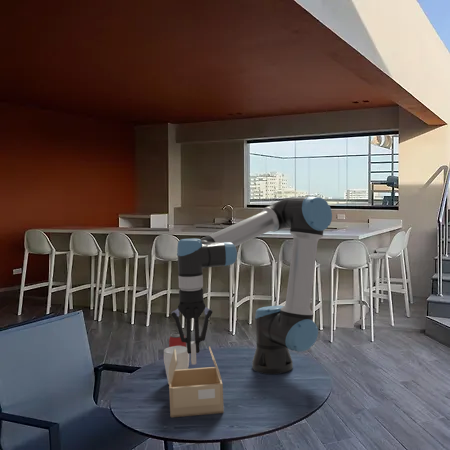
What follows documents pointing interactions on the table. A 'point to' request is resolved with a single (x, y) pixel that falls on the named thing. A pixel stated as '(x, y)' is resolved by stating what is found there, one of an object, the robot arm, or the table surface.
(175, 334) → the beer can
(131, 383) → the table surface
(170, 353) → the cup
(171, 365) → the flap
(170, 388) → the carton
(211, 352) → the flap
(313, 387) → the table surface
